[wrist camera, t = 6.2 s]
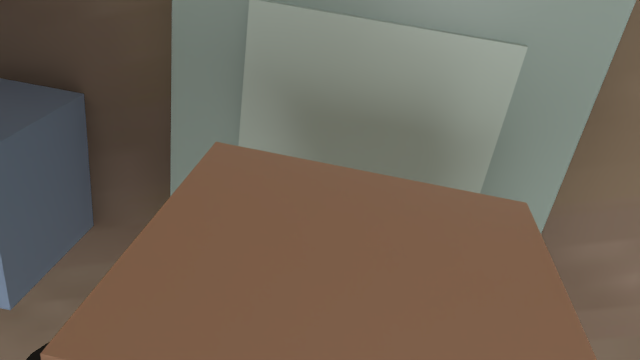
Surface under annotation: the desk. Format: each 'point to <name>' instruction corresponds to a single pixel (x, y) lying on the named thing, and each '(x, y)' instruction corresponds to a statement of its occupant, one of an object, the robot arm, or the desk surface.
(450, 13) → the base plate
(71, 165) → the brick blue
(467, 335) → the brick terracotta
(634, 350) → the desk surface
